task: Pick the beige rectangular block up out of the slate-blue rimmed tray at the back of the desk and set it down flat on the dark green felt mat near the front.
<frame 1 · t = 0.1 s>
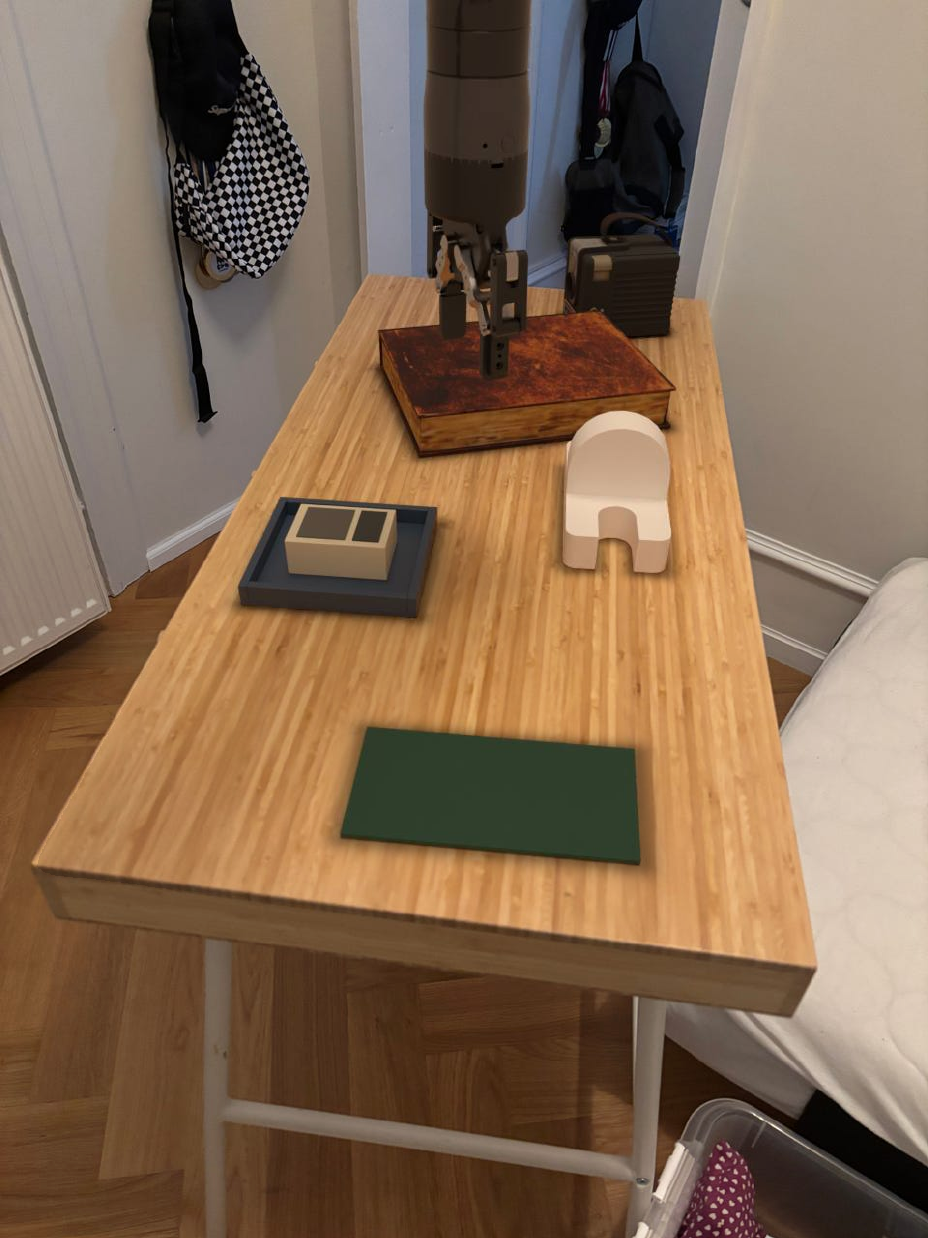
hand: (472, 356, 77), 19 cm above the table, tool pointing down, fingers open, 8 cm apart
book: (517, 397, 115), on the table
tray: (344, 562, 87), on the table
mat: (494, 792, 66), on the table
beige rectangular block: (344, 557, 87), point 1 cm above the table, touching tray
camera: (611, 326, 132), on the table
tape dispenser: (611, 519, 94), on the table
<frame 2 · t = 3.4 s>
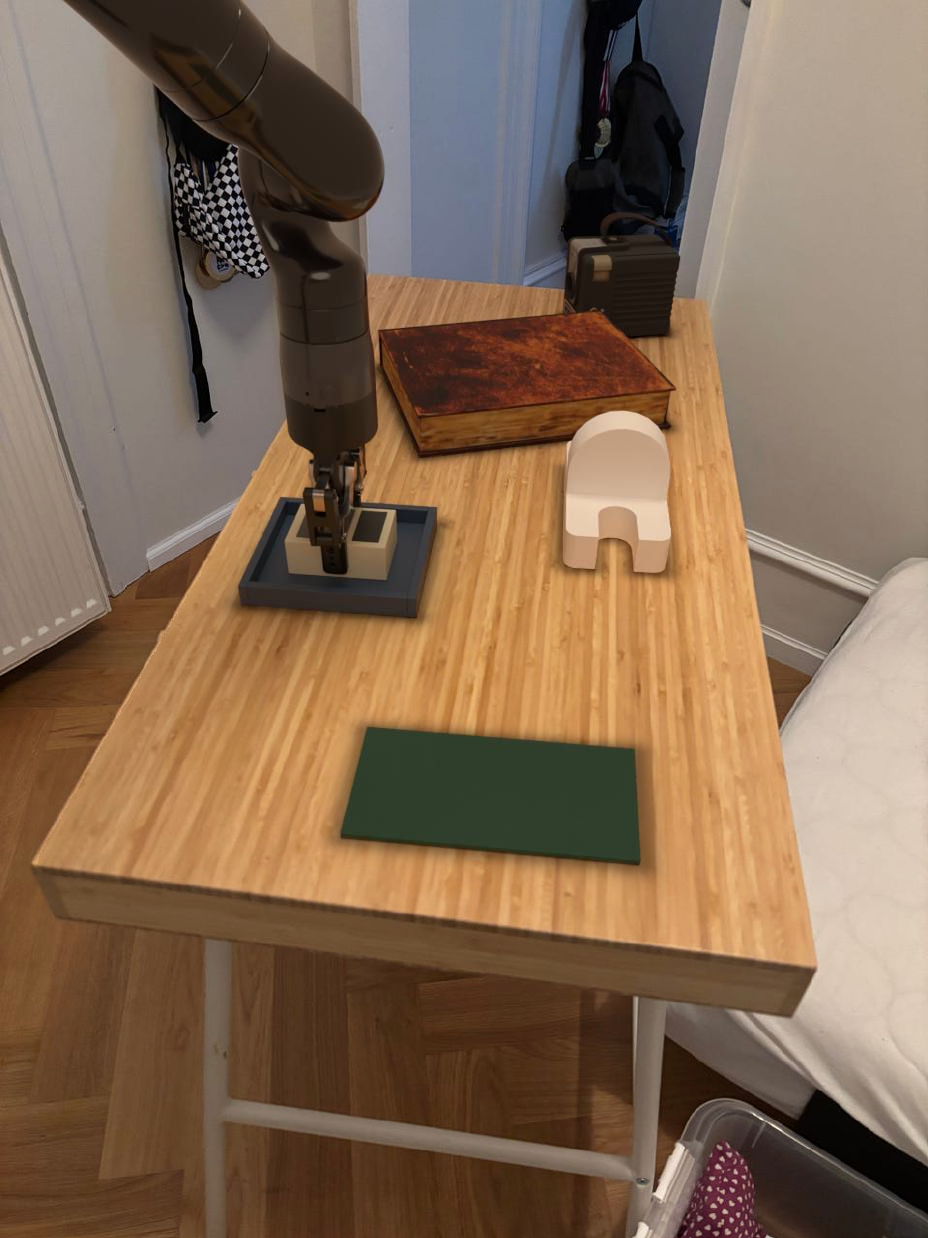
hand: (343, 549, 86), 1 cm above the table, tool pointing down, fingers closed on beige rectangular block, 6 cm apart
beige rectangular block: (344, 557, 87), point 1 cm above the table, touching gripper, tray
everything else where it was.
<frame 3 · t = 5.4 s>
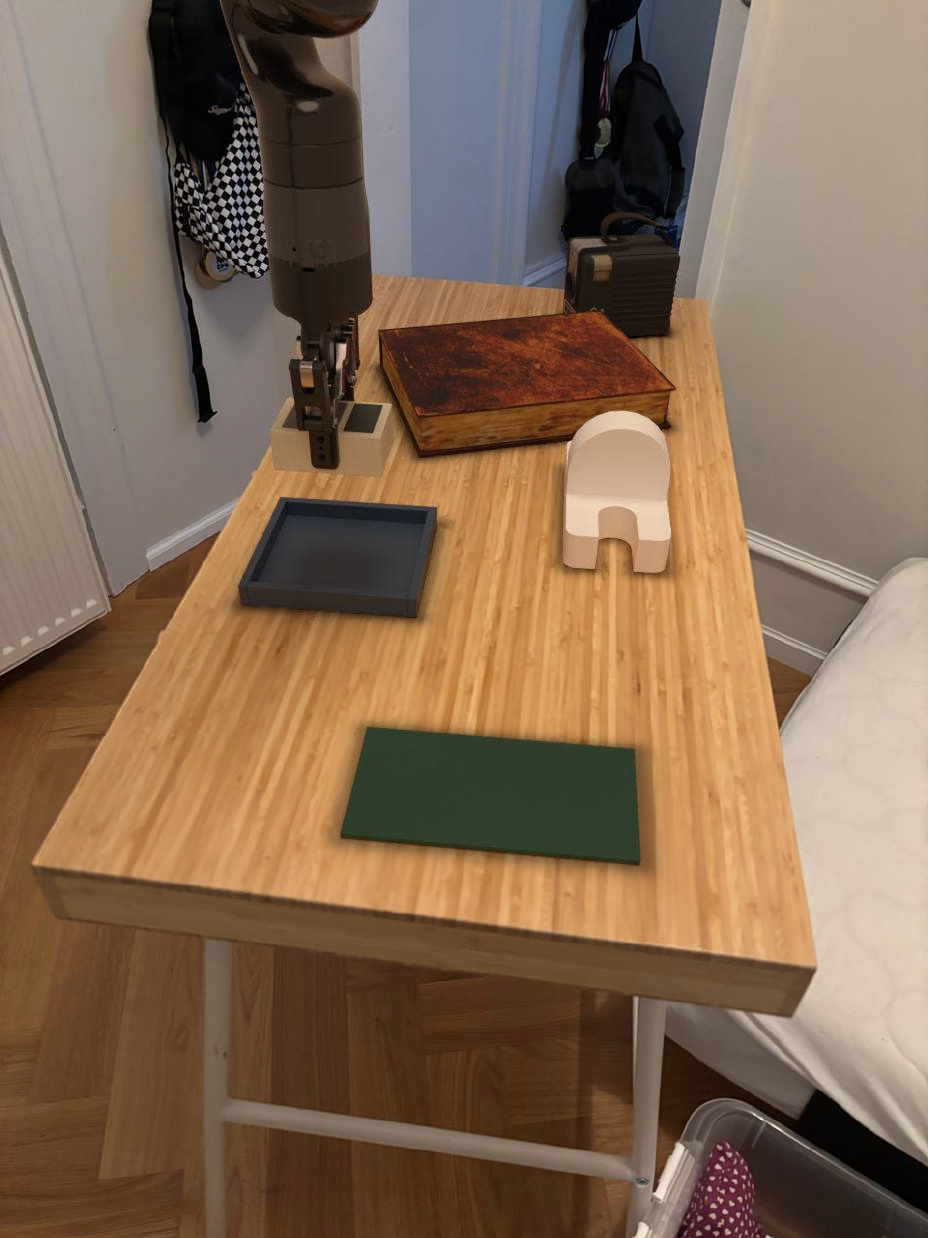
hand: (334, 446, 79), 13 cm above the table, tool pointing down, fingers closed on beige rectangular block, 6 cm apart
beige rectangular block: (335, 455, 79), point 12 cm above the table, touching gripper
everything else where it was.
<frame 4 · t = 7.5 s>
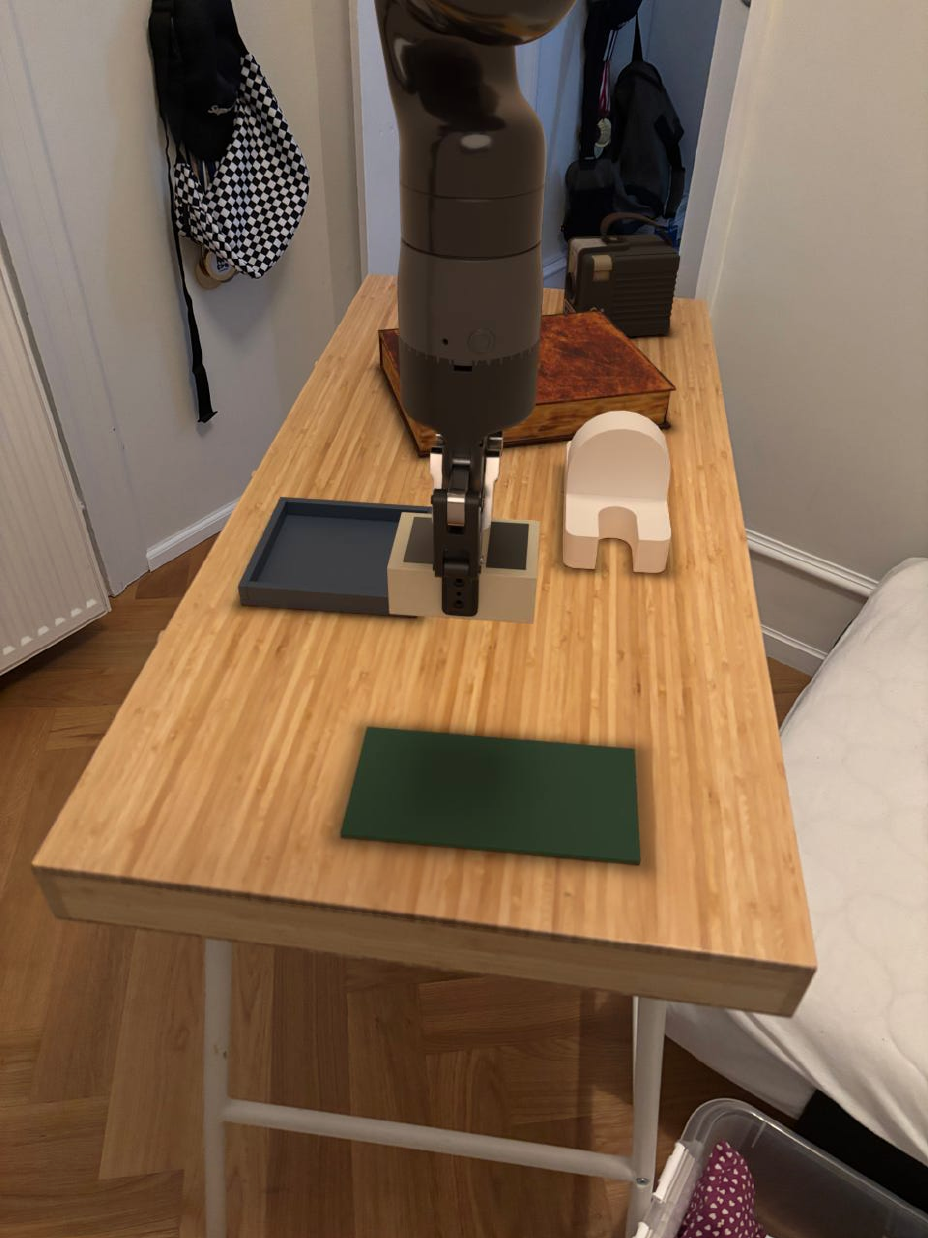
hand: (465, 578, 60), 15 cm above the table, tool pointing down, fingers closed on beige rectangular block, 6 cm apart
beige rectangular block: (465, 589, 60), point 15 cm above the table, touching gripper
everything else where it was.
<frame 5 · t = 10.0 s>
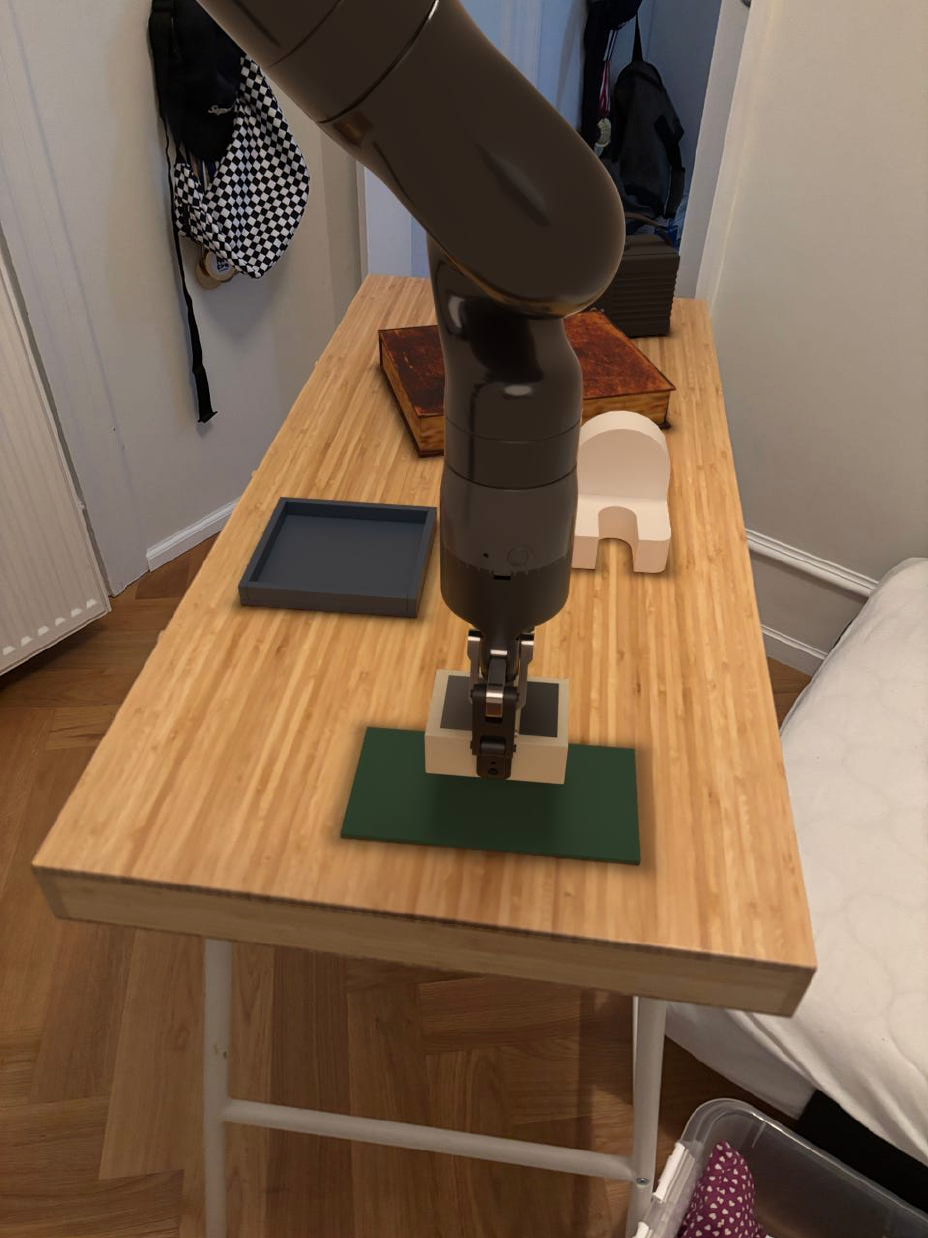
hand: (497, 735, 62), 6 cm above the table, tool pointing down, fingers closed on beige rectangular block, 6 cm apart
beige rectangular block: (497, 743, 63), point 5 cm above the table, touching gripper
everything else where it was.
when the fingers open (1 cm above the table, at t = 11.8 s): beige rectangular block stays where it is, resting on mat.
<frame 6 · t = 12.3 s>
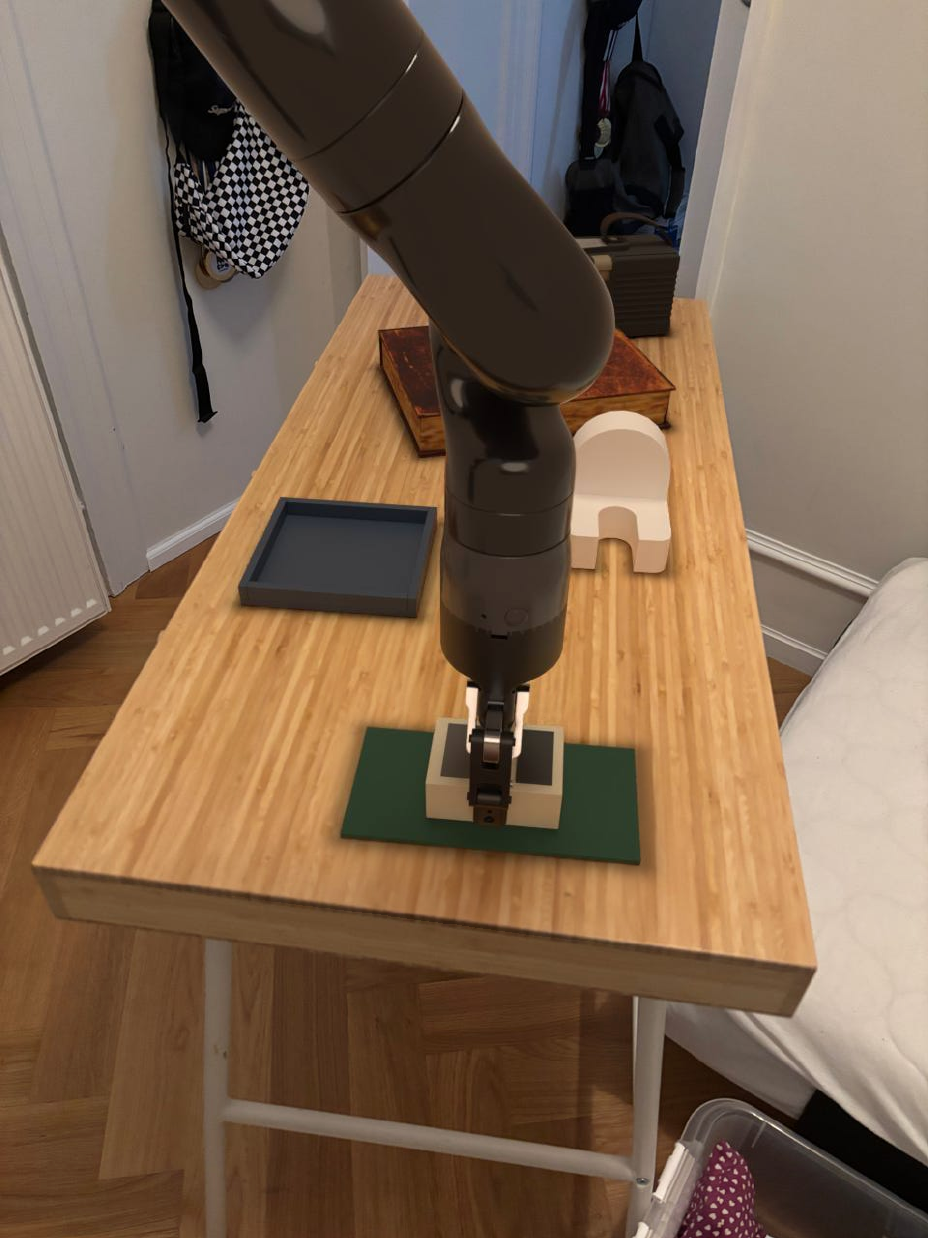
hand: (494, 772, 65), 2 cm above the table, tool pointing down, fingers open, 8 cm apart
beige rectangular block: (495, 788, 66), resting on mat
everything else where it was.
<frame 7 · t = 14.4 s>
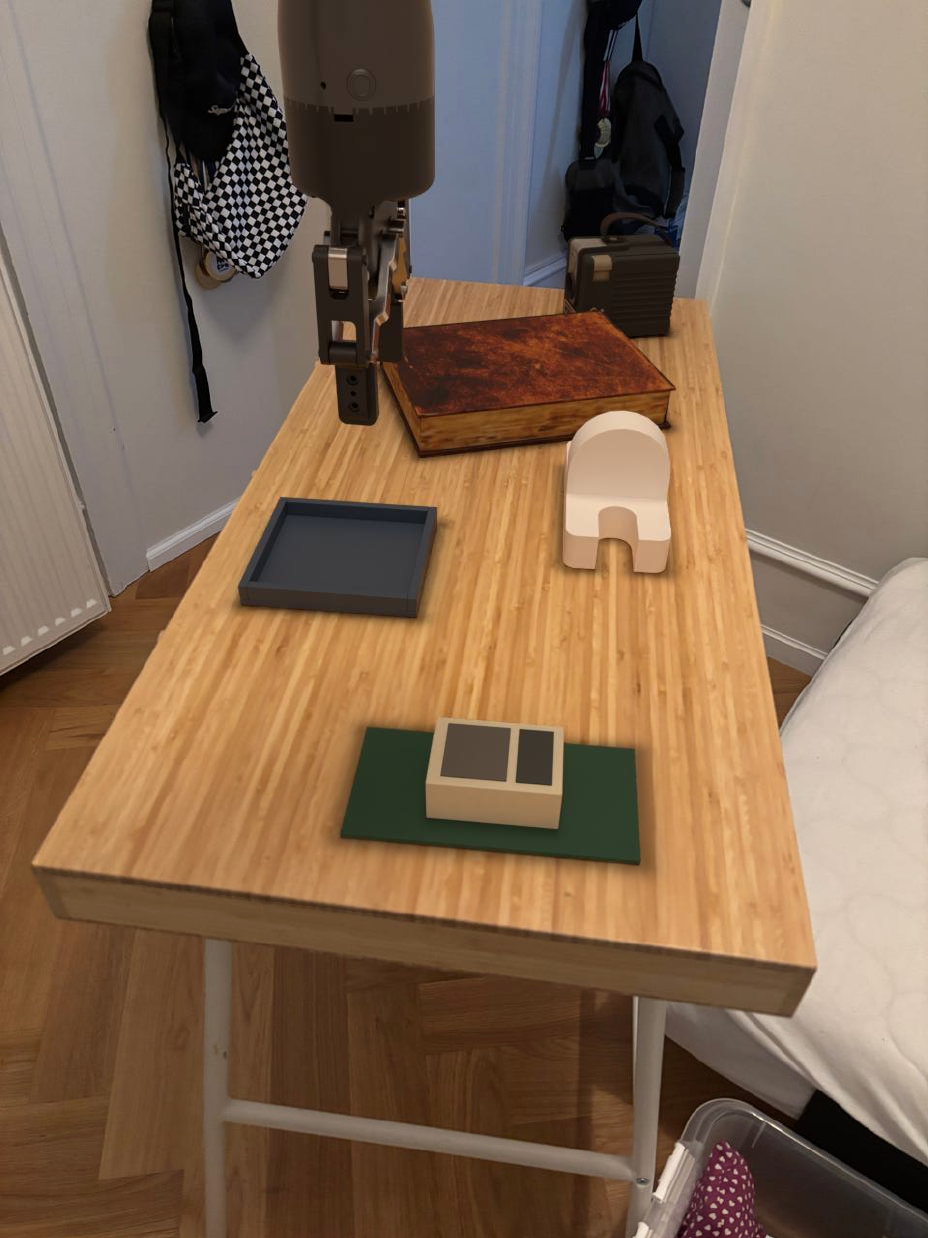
hand: (373, 389, 57), 26 cm above the table, tool pointing down, fingers open, 8 cm apart
nothing on the table moved.
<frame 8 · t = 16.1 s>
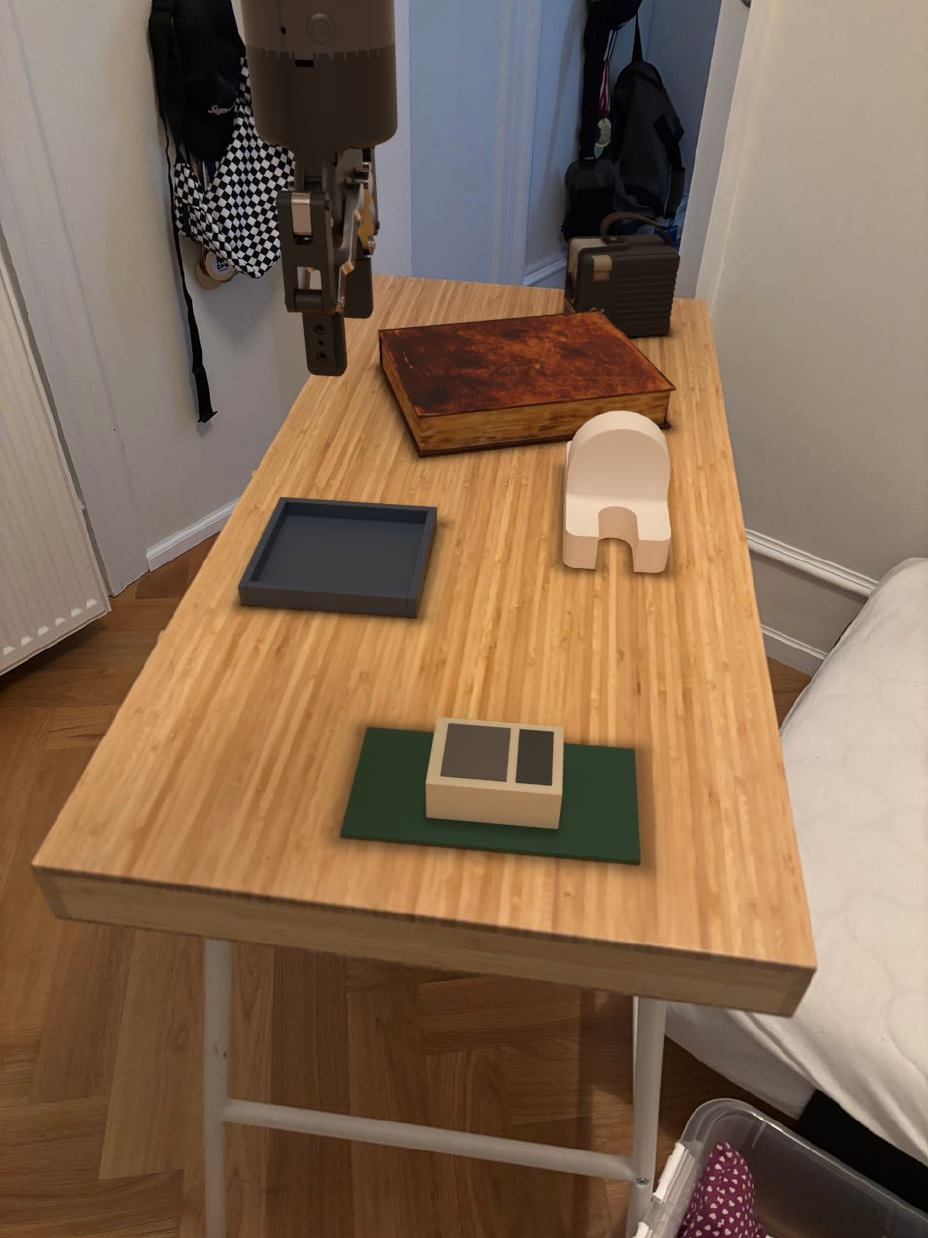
hand: (342, 343, 57), 28 cm above the table, tool pointing down, fingers open, 8 cm apart
nothing on the table moved.
at the end: beige rectangular block inside the target area on the mat (0.1 cm from its centre), point 0.4 cm above the mat's base; beige rectangular block tilted 0°; beige rectangular block touching mat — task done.
